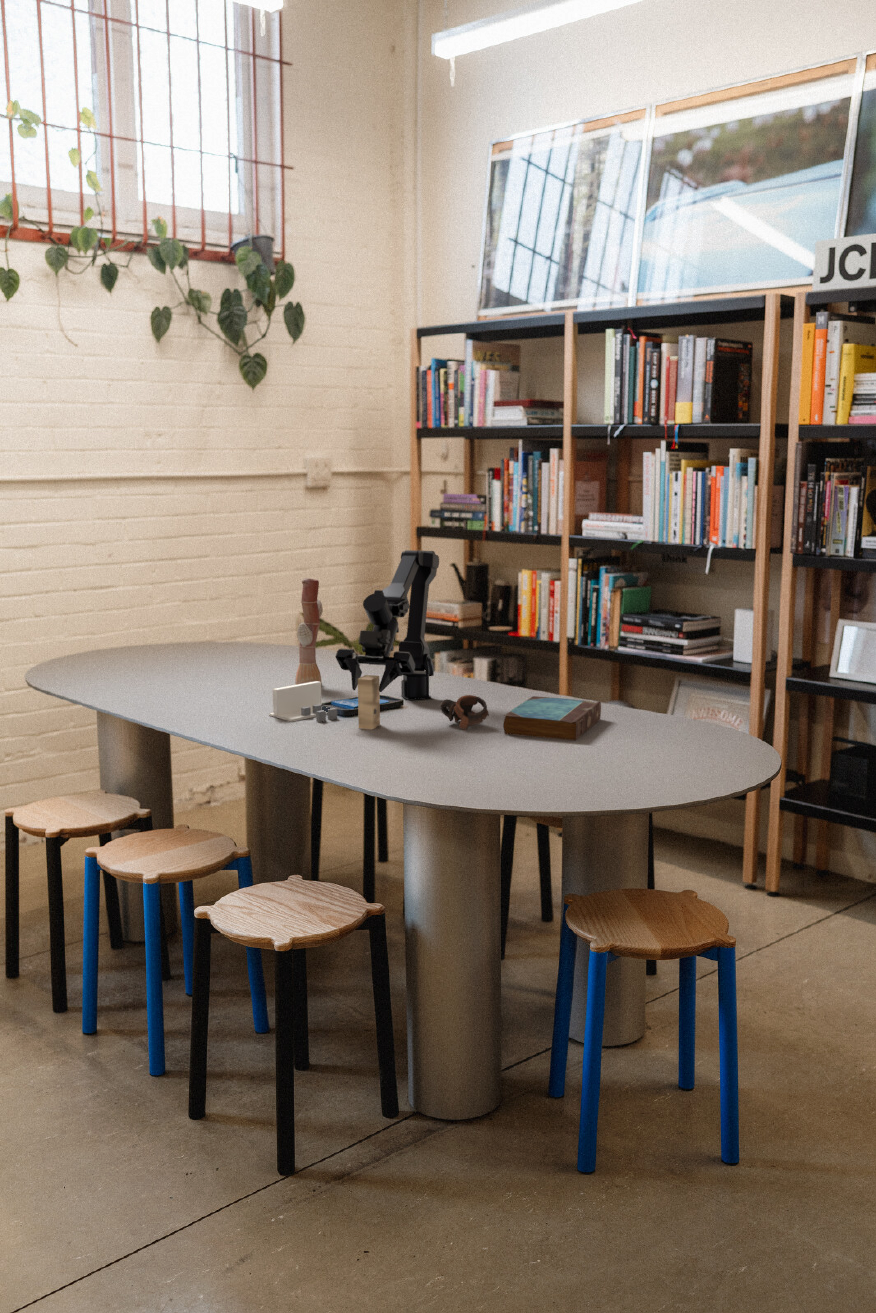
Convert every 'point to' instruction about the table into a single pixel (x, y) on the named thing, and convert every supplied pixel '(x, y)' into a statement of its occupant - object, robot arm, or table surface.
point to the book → (552, 718)
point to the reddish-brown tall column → (309, 633)
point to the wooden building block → (368, 702)
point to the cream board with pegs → (300, 703)
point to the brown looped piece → (464, 710)
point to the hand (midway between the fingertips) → (366, 690)
